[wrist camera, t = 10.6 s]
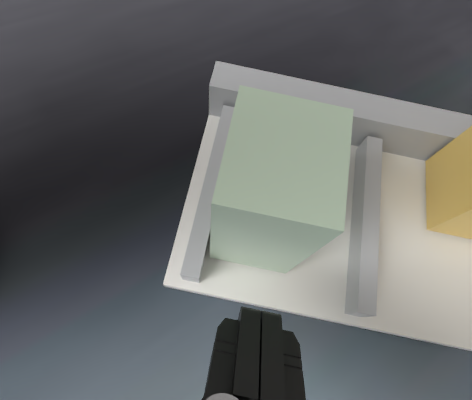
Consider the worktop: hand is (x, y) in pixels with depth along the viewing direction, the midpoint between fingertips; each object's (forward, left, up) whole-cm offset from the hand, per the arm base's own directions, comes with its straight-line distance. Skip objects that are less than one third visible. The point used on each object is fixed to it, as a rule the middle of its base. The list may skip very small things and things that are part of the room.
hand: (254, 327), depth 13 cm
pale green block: (+4, +4, -6) cm, 8 cm away
